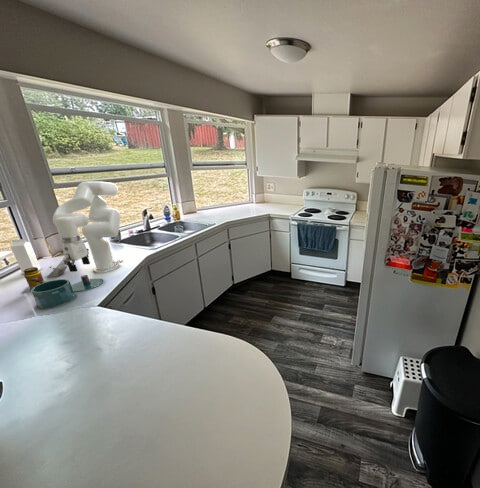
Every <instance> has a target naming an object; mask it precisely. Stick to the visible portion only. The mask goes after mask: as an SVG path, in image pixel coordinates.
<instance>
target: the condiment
mask: <svg viewBox="0 0 480 488" xmlns="http://www.w3.org/2000/svg"><path fill="white" fill-rule="evenodd" d="M24 273H25V274H24V278H25V280H26V283H27V285H28V286H27V288H29V289H30V290H31V289H32V288H33V287H35V286H37V285H39V284H42V283H44V282H45V279H44V277H43V274H42V272H41V271H40V270H38V268H37V267H32V268H28V269H25V270H24ZM23 293H26V290H24V291H23ZM23 293H22V294H23Z"/></svg>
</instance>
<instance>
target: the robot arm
mask: <svg viewBox="0 0 480 488" xmlns="http://www.w3.org/2000/svg"><path fill="white" fill-rule="evenodd" d="M118 193H119V188H118V186H117V185H116V183H114V182H110V181H109V182H107V181H82V182H80V183H79V184H78V185H77V187H76V190H75V192H74V194H73V196H72V198H71V199H68V200H67V201H65V202H64V203H62V204H60V205H59V206H58V207H57V208H56V209H55V211H54V213H53V216H52V223H53V225H54V226H55V227H56V230H57V233H58V235H59V238H60V241H61V246H62V253H63V255H64V257H63V258H62V260H61V261H62V262H63V263H65V264H66V265H67V268H68V270H69V272H72V273H74V272H76V273H77V272H78V268H77V265H76V264H75V263H76V261H79V260H81V262H82V264H83V265H90V264H91V262H90V258H89V257H90V256H89V254H90V253H91V256H92V259H93V263H94V265H95V268H94V269H93V272H94V273H107V272H110V271H113V270H116V269H117V268H118V267H119V264H122V263H124V259H116V260H115V259H114V257H113V253H112V251H111V247H110V244H109V241H108V240H107V239H106V238H114V237H117V236H118V234H119V231H120V225H121V213H120V211H119V210H118V209H117V208H113V207H112V208H111V207H110V208H109V203H108V202H107V200H105V198H103V197H105V196H107V197H108V196H109V197H110V196H116V195H117V194H118ZM87 208H89V212H88V215H87V214H85V213H81V212H79V213H78V211H81V210H84V209H87ZM75 212H77V213H75ZM89 222H90V223H89ZM78 228H81V232H82V235H83V236H84V238H85V240H86V243H87V244H88V247H89V248H87V246H86V244H85V242H84V240H83V239H82V238H81V235H80V232H79V229H78ZM89 250H90V251H89ZM89 252H90V253H89Z"/></svg>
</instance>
